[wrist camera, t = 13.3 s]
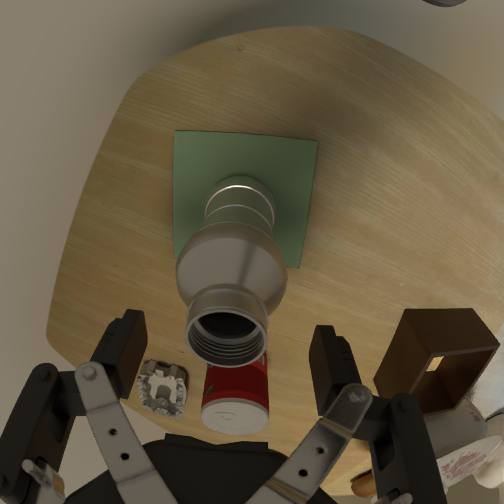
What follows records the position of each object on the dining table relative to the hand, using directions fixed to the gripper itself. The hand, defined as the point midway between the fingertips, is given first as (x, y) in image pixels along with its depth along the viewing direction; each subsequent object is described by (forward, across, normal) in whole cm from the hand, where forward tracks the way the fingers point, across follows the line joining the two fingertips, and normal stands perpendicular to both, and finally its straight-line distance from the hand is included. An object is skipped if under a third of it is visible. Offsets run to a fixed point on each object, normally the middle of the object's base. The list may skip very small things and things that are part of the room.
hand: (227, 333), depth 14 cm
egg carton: (+20, +10, +30) cm, 38 cm away
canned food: (+20, -1, +22) cm, 30 cm away
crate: (+20, -30, +20) cm, 41 cm away
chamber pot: (+20, -39, +41) cm, 60 cm away
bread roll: (+20, -41, +72) cm, 85 cm away
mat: (+20, 0, 0) cm, 20 cm away
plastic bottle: (+20, 0, 0) cm, 20 cm away
